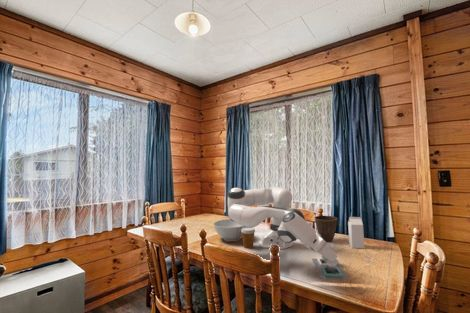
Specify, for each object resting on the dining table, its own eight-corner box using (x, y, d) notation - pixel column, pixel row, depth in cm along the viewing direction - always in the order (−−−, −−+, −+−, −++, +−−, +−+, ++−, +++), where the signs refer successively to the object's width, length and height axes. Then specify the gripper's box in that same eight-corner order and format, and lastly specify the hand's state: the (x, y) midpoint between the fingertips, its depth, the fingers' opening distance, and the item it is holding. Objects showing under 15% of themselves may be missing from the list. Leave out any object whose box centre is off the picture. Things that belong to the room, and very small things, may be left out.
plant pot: (335, 245, 153) (334, 221, 154) (312, 241, 162) (311, 218, 163) (340, 239, 165) (339, 217, 166) (319, 236, 174) (318, 214, 175)
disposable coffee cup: (247, 243, 162) (246, 226, 162) (258, 246, 156) (257, 228, 156) (238, 247, 154) (238, 229, 155) (250, 250, 148) (249, 231, 149)
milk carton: (364, 248, 146) (362, 218, 147) (352, 248, 147) (350, 218, 148) (360, 244, 153) (359, 216, 154) (349, 244, 154) (347, 215, 155)
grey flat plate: (320, 281, 106) (320, 275, 106) (311, 261, 129) (311, 256, 129) (350, 282, 104) (350, 277, 104) (336, 262, 127) (336, 257, 127)
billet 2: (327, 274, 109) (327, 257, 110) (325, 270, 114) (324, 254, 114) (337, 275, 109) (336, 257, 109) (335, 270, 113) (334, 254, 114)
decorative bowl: (250, 244, 159) (250, 227, 160) (212, 245, 160) (211, 227, 160) (249, 233, 186) (248, 218, 187) (216, 234, 186) (215, 219, 187)
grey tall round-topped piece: (322, 265, 120) (322, 249, 121) (321, 261, 125) (320, 246, 125) (332, 265, 120) (331, 249, 120) (329, 261, 124) (329, 246, 124)
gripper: (299, 237, 121) (318, 255, 122) (315, 251, 101) (338, 273, 101) (307, 228, 122) (326, 246, 122) (325, 240, 101) (347, 262, 102)
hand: (331, 258), depth 111 cm, fingers open, 8 cm apart
